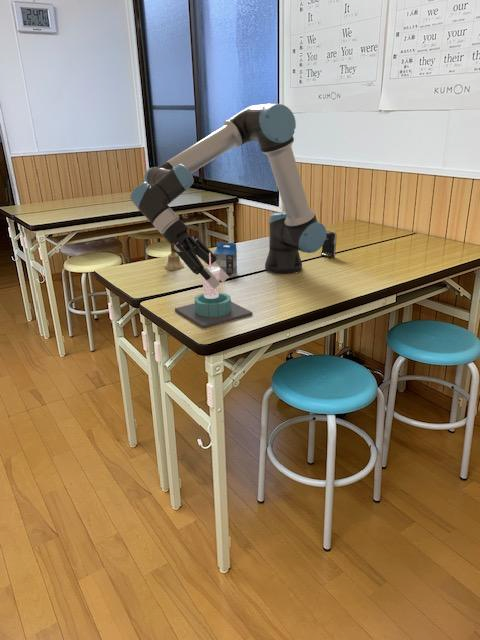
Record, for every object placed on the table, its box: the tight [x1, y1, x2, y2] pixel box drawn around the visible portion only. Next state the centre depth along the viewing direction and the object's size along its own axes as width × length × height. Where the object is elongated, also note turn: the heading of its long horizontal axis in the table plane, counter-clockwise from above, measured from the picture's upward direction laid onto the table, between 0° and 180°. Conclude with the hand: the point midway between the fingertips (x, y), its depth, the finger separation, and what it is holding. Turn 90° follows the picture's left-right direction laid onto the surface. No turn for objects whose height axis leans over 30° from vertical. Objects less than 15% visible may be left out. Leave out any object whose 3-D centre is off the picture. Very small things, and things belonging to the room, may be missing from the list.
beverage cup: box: [201, 253, 220, 299], centre depth 152 cm, size 6×6×14 cm
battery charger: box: [320, 229, 337, 258], centre depth 215 cm, size 7×4×11 cm, turn 38°
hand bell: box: [164, 243, 185, 271], centre depth 204 cm, size 8×8×16 cm
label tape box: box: [213, 241, 238, 276], centre depth 195 cm, size 9×4×12 cm, turn 68°
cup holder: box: [174, 292, 253, 329], centre depth 156 cm, size 18×18×5 cm
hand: (221, 282), depth 152 cm, fingers closed on beverage cup, 6 cm apart
